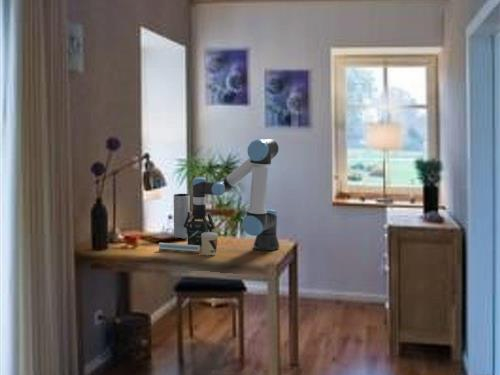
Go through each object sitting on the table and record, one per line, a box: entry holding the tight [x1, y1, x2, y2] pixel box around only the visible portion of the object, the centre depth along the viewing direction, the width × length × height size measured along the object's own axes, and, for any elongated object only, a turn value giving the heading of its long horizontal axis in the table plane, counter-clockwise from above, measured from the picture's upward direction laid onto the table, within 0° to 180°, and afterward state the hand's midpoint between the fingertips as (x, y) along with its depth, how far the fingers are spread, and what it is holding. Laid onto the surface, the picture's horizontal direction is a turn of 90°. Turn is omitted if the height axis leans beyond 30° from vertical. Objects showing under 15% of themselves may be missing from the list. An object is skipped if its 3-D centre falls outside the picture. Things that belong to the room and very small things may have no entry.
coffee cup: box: [201, 231, 219, 256], centre depth 371 cm, size 9×9×12 cm
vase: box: [173, 193, 191, 240], centre depth 415 cm, size 10×10×27 cm
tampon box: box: [187, 219, 211, 246], centre depth 394 cm, size 11×9×15 cm
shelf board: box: [158, 246, 202, 254], centre depth 382 cm, size 24×14×2 cm, turn 75°
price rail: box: [158, 242, 199, 251], centre depth 376 cm, size 24×1×3 cm, turn 75°
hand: (199, 239), depth 394 cm, fingers closed on tampon box, 12 cm apart
